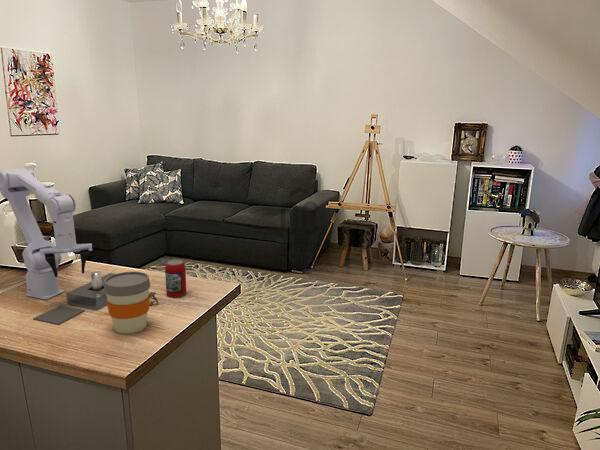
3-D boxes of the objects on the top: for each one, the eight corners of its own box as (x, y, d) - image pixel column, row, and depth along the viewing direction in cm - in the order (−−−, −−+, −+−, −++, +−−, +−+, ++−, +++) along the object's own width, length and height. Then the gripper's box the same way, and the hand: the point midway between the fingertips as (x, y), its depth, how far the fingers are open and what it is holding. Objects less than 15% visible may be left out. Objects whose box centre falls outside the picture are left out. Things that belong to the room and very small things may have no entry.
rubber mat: (33, 319, 135) (33, 318, 135) (60, 306, 144) (60, 305, 144) (58, 325, 132) (58, 323, 131) (84, 311, 141) (84, 310, 141)
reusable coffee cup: (118, 316, 138) (114, 270, 134) (158, 317, 138) (156, 271, 134) (99, 335, 126) (94, 286, 122) (143, 337, 126) (140, 287, 122)
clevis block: (67, 304, 145) (66, 293, 144) (111, 283, 164) (110, 273, 163) (97, 310, 142) (95, 298, 141) (138, 287, 160) (137, 277, 159)
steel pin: (91, 300, 149) (88, 273, 147) (98, 296, 152) (96, 270, 149) (97, 301, 148) (95, 275, 145) (105, 298, 150) (102, 272, 148)
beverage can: (162, 296, 153) (160, 263, 150) (174, 289, 159) (173, 257, 156) (178, 299, 151) (176, 266, 148) (190, 292, 157) (189, 260, 154)
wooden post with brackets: (161, 302, 147) (154, 291, 145) (138, 314, 145) (131, 304, 143) (160, 300, 148) (154, 289, 146) (138, 312, 146) (131, 301, 144)
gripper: (37, 239, 133) (43, 281, 137) (90, 233, 140) (95, 274, 143) (39, 233, 139) (44, 274, 143) (89, 228, 146) (94, 268, 149)
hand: (69, 274), depth 143 cm, fingers open, 7 cm apart
